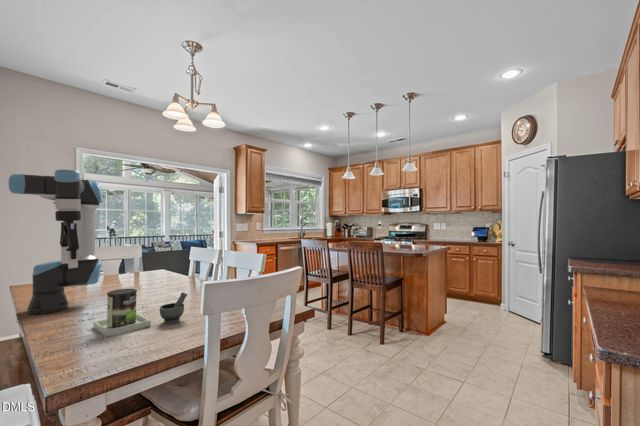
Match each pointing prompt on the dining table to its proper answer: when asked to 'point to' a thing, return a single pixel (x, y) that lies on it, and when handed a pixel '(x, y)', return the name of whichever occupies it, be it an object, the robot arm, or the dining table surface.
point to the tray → (140, 323)
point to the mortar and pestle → (173, 310)
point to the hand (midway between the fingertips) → (69, 265)
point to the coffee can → (121, 308)
